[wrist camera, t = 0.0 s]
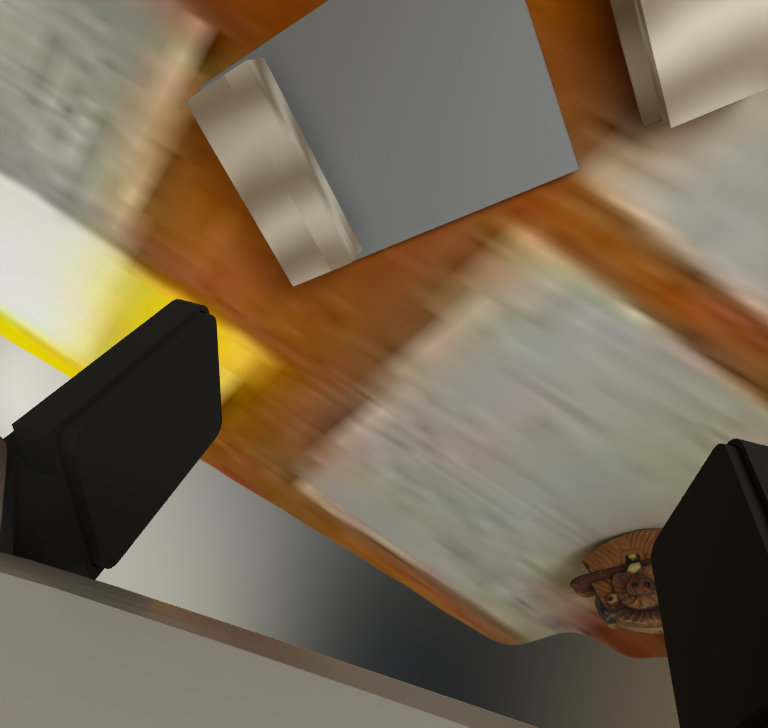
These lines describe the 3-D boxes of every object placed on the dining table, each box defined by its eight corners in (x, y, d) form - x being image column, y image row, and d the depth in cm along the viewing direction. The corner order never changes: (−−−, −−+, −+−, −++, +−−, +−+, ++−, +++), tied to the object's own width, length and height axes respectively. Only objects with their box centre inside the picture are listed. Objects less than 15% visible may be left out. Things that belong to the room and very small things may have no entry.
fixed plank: (215, 93, 45) (184, 101, 41) (272, 56, 42) (245, 60, 38) (311, 266, 51) (293, 286, 47) (366, 243, 48) (351, 262, 45)
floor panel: (205, 85, 45) (199, 86, 45) (491, -106, 35) (490, -109, 34) (312, 275, 52) (308, 279, 52) (578, 166, 42) (578, 169, 41)
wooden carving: (713, 499, 55) (742, 585, 46) (733, 529, 56) (764, 618, 48) (562, 543, 63) (563, 622, 55) (582, 568, 64) (587, 649, 56)
